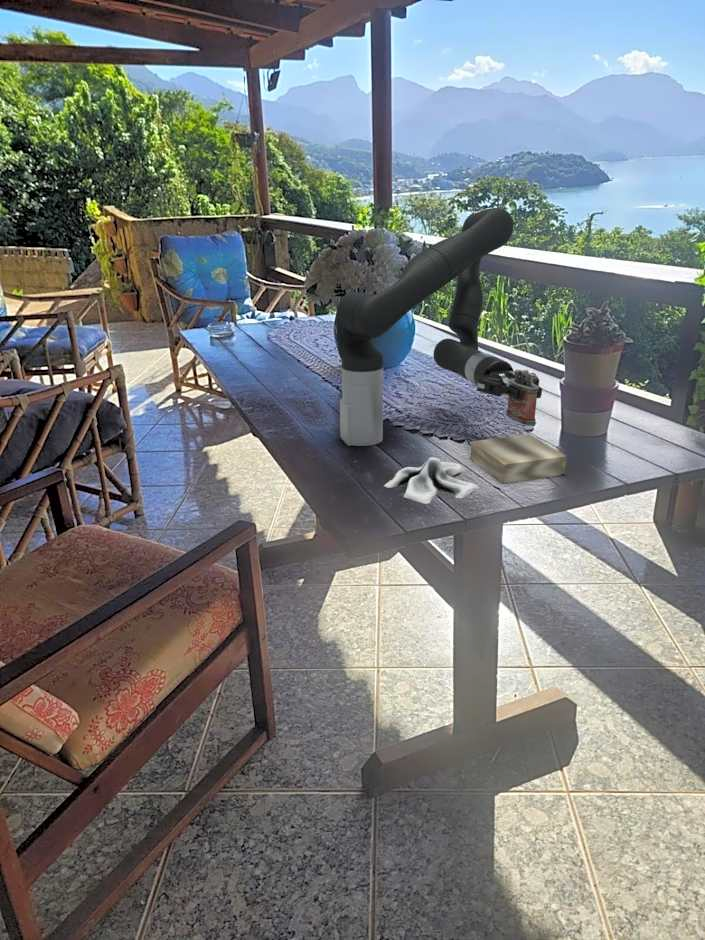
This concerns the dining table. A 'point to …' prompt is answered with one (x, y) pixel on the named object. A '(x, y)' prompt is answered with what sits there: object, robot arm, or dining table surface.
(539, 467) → the base block
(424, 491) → the cloth
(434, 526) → the dining table surface
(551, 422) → the dining table surface
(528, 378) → the lighter
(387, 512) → the dining table surface
